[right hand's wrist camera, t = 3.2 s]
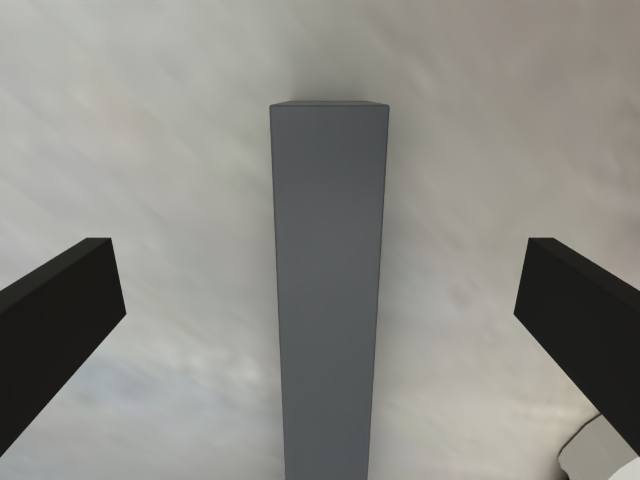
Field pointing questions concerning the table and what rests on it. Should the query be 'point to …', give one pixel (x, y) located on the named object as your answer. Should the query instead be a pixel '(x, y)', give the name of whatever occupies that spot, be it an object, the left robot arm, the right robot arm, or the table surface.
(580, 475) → the ashtray
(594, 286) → the right robot arm
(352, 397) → the beam
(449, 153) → the table surface
